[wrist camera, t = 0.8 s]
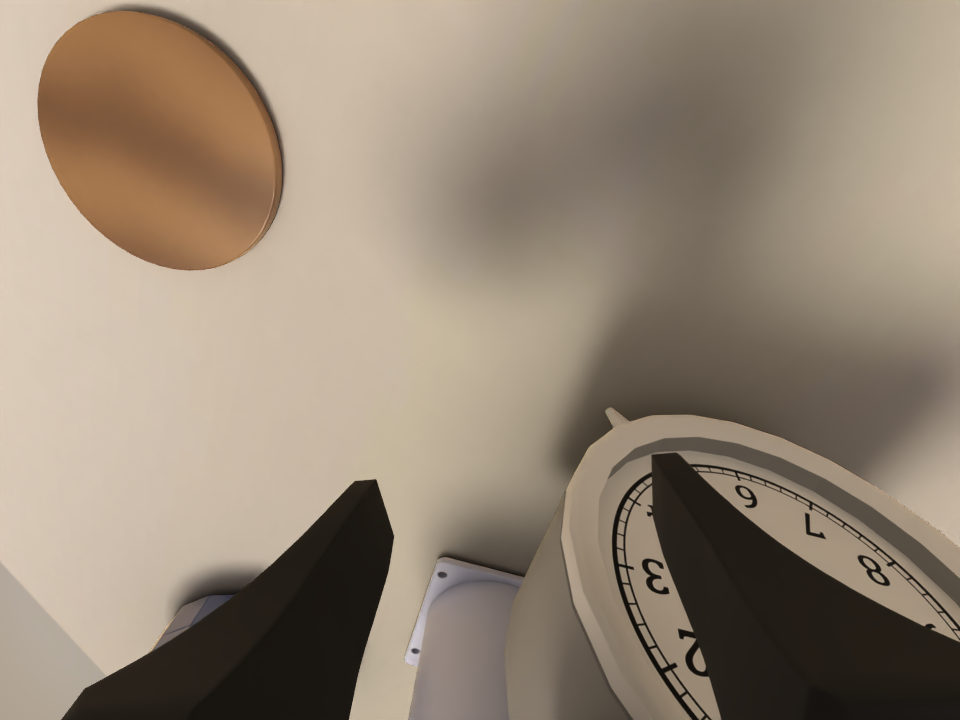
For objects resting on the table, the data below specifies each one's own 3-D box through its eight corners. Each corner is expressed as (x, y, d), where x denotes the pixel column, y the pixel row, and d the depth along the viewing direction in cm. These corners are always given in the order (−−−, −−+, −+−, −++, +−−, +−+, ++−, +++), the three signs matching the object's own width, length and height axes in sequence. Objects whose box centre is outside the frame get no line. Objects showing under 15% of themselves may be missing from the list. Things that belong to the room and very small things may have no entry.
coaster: (272, 291, 22) (266, 296, 21) (62, 232, 21) (50, 235, 21) (294, 58, 18) (287, 57, 17) (36, -23, 17) (21, -27, 17)
